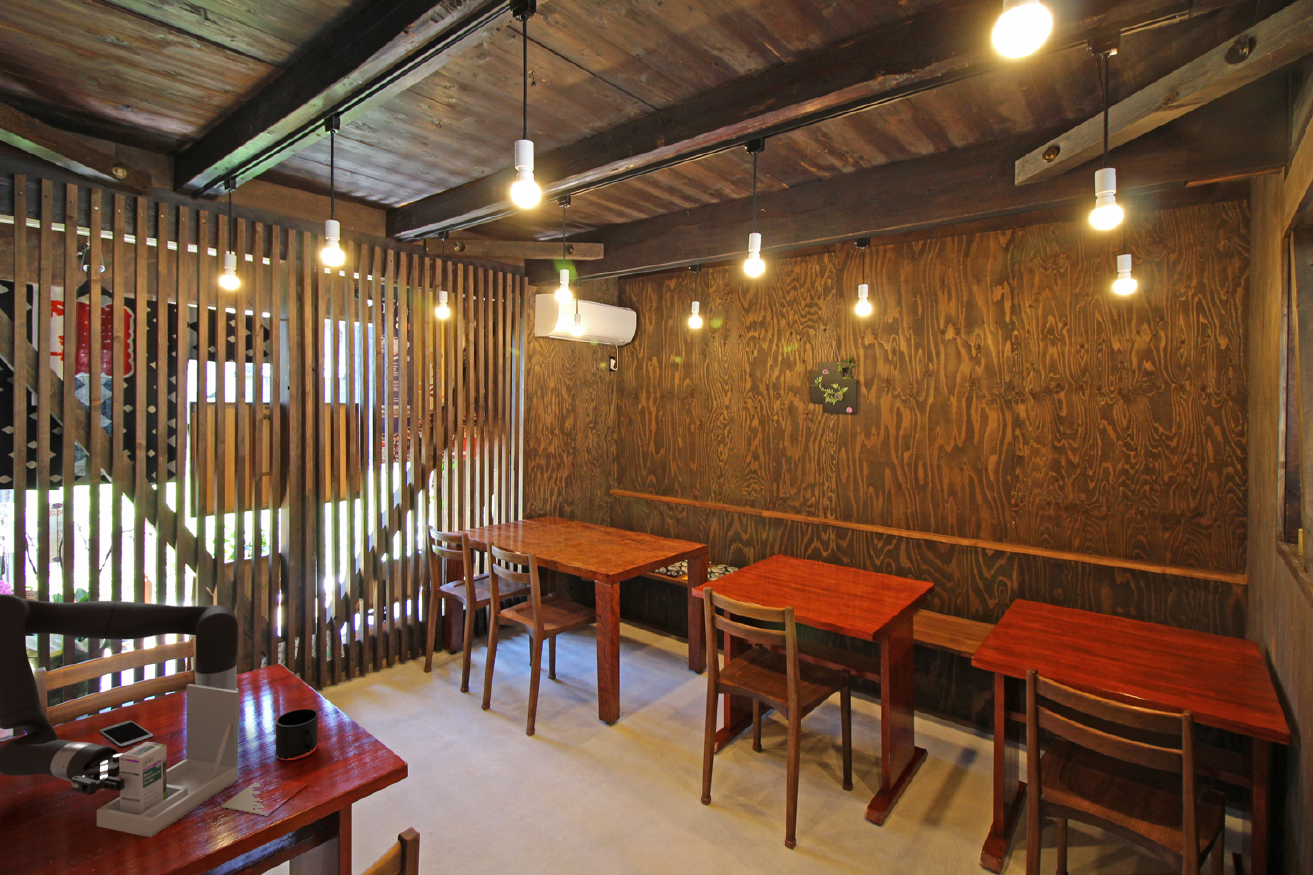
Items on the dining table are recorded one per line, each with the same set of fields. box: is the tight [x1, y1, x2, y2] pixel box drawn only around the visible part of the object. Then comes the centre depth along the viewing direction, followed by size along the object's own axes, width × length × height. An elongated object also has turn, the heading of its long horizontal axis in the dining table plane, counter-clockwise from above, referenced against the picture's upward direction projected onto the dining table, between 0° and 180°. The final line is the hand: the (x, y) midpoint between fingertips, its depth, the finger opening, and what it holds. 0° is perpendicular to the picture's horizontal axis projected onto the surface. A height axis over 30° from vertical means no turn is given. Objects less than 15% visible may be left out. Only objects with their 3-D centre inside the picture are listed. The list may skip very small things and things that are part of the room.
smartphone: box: [98, 720, 155, 749], centre depth 167 cm, size 7×15×1 cm, turn 59°
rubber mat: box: [220, 781, 268, 815], centre depth 144 cm, size 12×12×1 cm
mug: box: [275, 708, 319, 759], centre depth 161 cm, size 9×12×9 cm
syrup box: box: [119, 741, 167, 815], centre depth 136 cm, size 6×6×14 cm
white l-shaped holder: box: [96, 683, 240, 838], centre depth 140 cm, size 21×14×22 cm
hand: (143, 773), depth 135 cm, fingers open, 8 cm apart
